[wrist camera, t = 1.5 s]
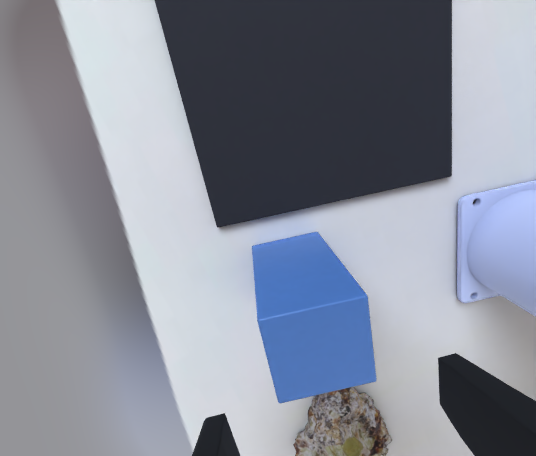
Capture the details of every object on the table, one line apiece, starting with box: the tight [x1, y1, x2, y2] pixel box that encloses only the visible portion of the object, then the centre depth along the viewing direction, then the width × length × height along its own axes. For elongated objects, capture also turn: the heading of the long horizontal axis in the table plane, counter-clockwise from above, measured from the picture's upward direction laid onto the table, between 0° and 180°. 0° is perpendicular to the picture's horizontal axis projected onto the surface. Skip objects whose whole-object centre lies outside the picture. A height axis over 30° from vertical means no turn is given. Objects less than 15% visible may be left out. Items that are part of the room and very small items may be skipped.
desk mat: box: [155, 0, 452, 227], centre depth 15 cm, size 15×20×1 cm
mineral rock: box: [294, 387, 392, 456], centre depth 23 cm, size 11×4×8 cm
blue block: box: [252, 232, 376, 403], centre depth 15 cm, size 4×4×8 cm
